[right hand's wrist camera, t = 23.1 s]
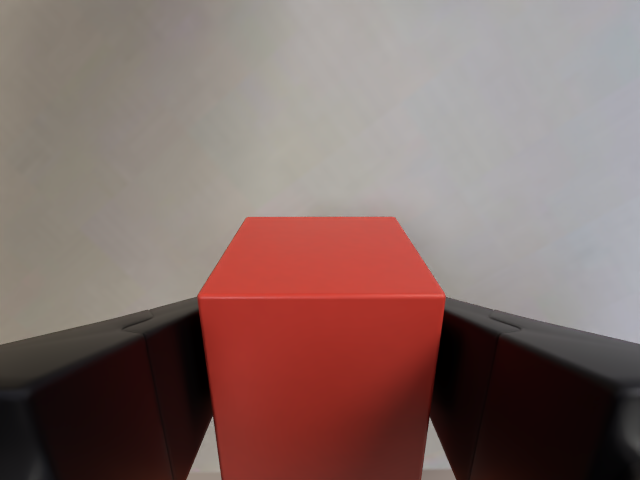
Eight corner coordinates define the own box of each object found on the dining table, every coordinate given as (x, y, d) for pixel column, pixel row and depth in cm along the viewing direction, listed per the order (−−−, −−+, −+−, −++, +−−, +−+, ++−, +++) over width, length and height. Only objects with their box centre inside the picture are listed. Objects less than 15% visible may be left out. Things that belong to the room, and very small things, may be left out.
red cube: (255, 352, 13) (221, 488, 8) (245, 215, 11) (195, 295, 7) (385, 352, 13) (421, 488, 8) (395, 216, 11) (448, 294, 7)
